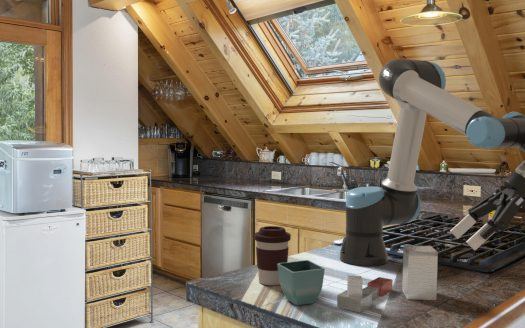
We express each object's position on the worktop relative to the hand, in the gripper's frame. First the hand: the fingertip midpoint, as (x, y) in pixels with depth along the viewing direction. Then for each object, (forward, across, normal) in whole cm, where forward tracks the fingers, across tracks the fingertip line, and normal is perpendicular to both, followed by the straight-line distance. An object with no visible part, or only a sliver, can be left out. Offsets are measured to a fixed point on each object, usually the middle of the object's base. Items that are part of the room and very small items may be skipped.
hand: (461, 240), depth 130 cm
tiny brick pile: (+27, -4, +6) cm, 28 cm away
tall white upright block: (+17, 0, -3) cm, 18 cm away
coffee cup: (+44, +8, +24) cm, 51 cm away
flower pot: (+39, -8, +18) cm, 43 cm away
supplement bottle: (-25, +113, -45) cm, 124 cm away
